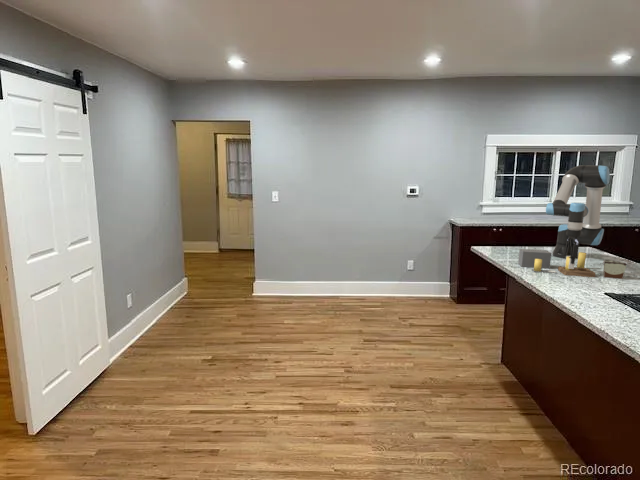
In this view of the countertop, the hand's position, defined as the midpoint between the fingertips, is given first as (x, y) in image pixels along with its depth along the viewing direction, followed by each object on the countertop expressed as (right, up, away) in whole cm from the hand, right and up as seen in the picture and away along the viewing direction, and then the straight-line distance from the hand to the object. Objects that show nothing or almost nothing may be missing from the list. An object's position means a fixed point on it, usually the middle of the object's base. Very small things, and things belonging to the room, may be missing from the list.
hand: (569, 267), depth 253 cm
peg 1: (0, -4, +1) cm, 4 cm away
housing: (-13, 0, +16) cm, 21 cm away
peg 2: (+14, -1, +13) cm, 20 cm away
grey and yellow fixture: (-13, -3, +3) cm, 14 cm away
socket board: (+4, -4, 0) cm, 5 cm away
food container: (+21, -5, -6) cm, 23 cm away
